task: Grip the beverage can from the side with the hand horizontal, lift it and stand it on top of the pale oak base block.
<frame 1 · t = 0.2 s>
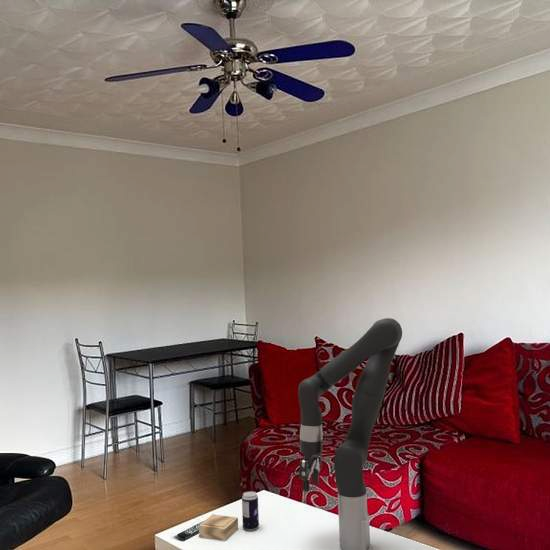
hand: (310, 487, 189), 18 cm above the table, tool pointing down, fingers open, 8 cm apart
beverage can: (250, 528, 201), on the table
base block: (218, 533, 198), on the table
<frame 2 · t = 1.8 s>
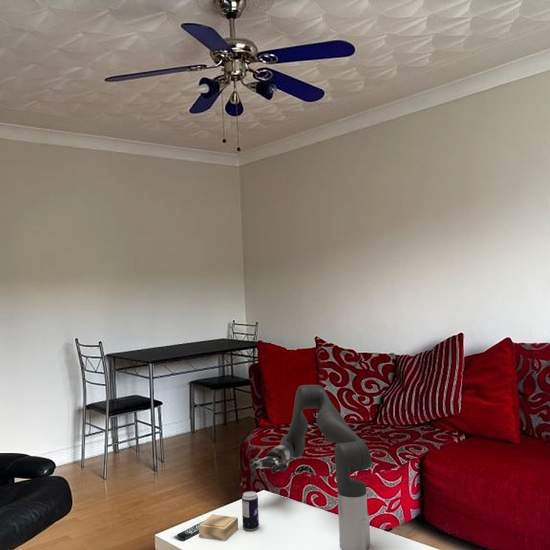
hand: (261, 469, 212), 17 cm above the table, tool horizontal, fingers open, 8 cm apart
nothing on the table moved.
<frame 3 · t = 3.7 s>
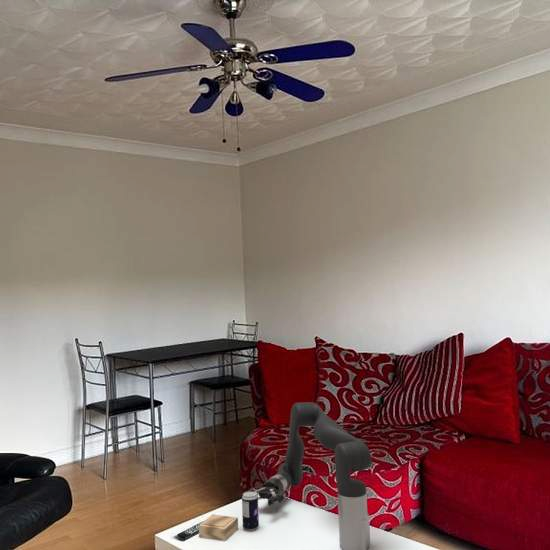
hand: (258, 501, 207), 7 cm above the table, tool horizontal, fingers open, 8 cm apart
nothing on the table moved.
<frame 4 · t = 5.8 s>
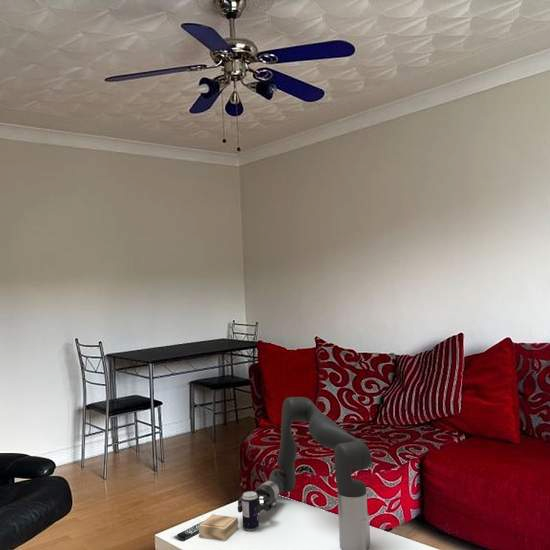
hand: (247, 510, 199), 7 cm above the table, tool horizontal, fingers closed on beverage can, 5 cm apart
beverage can: (250, 528, 201), on the table, touching gripper
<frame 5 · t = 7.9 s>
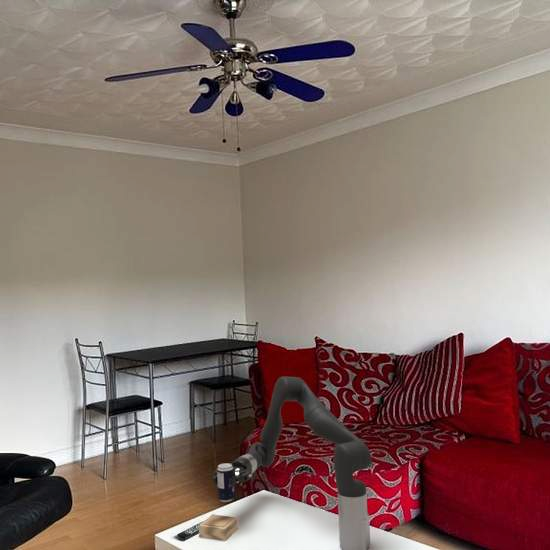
hand: (222, 481, 197), 18 cm above the table, tool horizontal, fingers closed on beverage can, 5 cm apart
beverage can: (226, 500, 200), point 11 cm above the table, touching gripper
when the fingers open (12 cm above the table, at t = 9.9 s): beverage can stays where it is, resting on base block.
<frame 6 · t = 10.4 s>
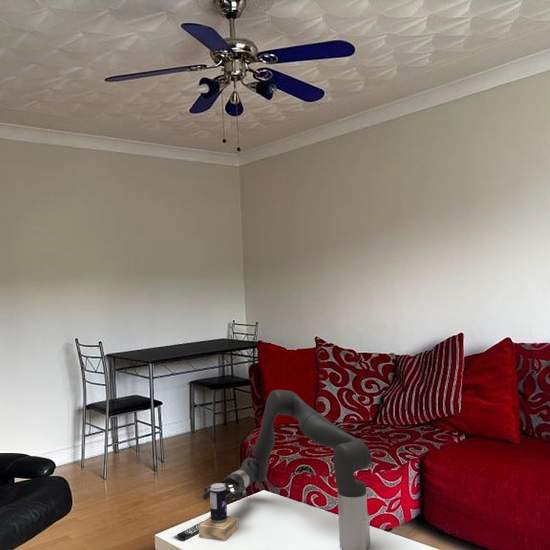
hand: (215, 498, 196), 13 cm above the table, tool horizontal, fingers open, 8 cm apart
beverage can: (219, 520, 198), point 4 cm above the table, touching base block
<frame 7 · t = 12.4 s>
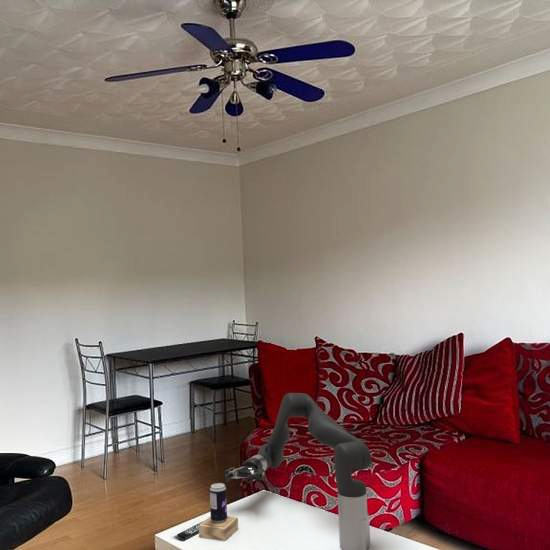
hand: (236, 479, 208), 15 cm above the table, tool horizontal, fingers open, 8 cm apart
nothing on the table moved.
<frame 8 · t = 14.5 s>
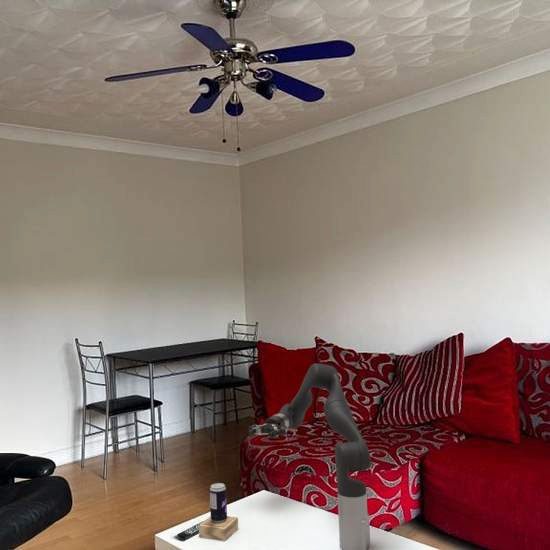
hand: (260, 434, 212), 30 cm above the table, tool horizontal, fingers open, 8 cm apart
nothing on the table moved.
at the end: beverage can inside the target area on the base block (0.2 cm from its centre), point 4.1 cm above the base block's base; beverage can tilted 0°; the gripper is holding nothing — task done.
